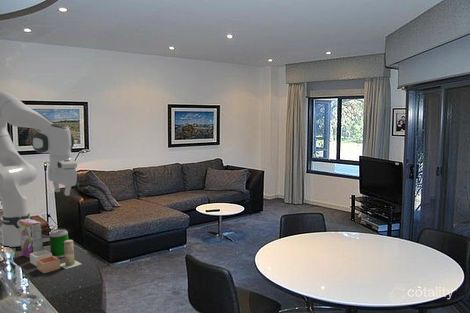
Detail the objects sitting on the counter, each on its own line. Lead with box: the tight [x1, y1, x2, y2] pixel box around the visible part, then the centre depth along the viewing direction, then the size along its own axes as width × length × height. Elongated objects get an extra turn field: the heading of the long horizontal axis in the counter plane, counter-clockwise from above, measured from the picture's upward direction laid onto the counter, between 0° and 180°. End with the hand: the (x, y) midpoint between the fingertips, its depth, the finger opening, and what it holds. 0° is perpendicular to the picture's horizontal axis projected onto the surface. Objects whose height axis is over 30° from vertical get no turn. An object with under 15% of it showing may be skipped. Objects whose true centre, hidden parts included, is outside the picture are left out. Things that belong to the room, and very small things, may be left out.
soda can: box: [48, 228, 69, 259], centre depth 181 cm, size 8×8×12 cm
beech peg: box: [64, 239, 76, 266], centre depth 170 cm, size 4×4×10 cm
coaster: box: [60, 259, 82, 270], centre depth 171 cm, size 7×7×1 cm
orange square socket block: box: [36, 256, 61, 274], centre depth 166 cm, size 7×7×4 cm
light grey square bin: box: [29, 249, 52, 267], centre depth 174 cm, size 7×7×4 cm
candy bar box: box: [19, 218, 44, 259], centre depth 182 cm, size 11×5×16 cm, turn 53°
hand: (62, 193), depth 176 cm, fingers open, 8 cm apart
